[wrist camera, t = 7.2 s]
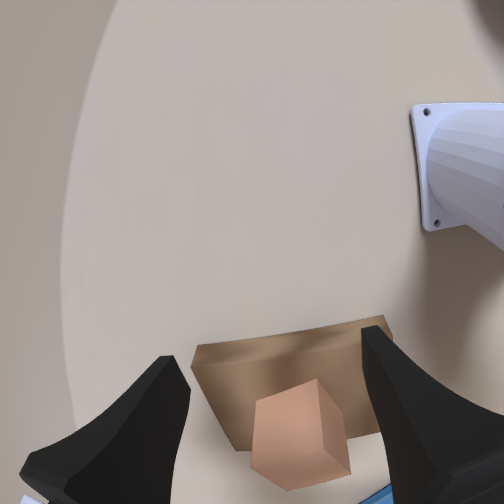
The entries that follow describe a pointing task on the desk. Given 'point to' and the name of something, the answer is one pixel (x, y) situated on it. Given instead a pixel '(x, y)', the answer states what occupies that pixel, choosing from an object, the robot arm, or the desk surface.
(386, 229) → the desk surface
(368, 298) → the desk surface
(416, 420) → the robot arm
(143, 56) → the desk surface
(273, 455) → the terracotta block
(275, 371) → the block
